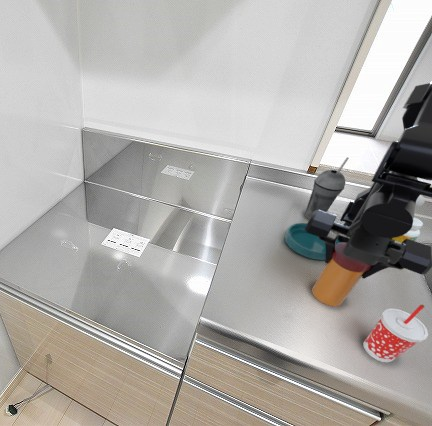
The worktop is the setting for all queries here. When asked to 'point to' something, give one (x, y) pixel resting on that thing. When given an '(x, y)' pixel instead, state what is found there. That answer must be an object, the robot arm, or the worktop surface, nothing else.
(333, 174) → the beverage cup
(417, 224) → the supplement bottle
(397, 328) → the beverage cup
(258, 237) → the worktop surface
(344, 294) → the jar
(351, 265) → the lid
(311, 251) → the dish
